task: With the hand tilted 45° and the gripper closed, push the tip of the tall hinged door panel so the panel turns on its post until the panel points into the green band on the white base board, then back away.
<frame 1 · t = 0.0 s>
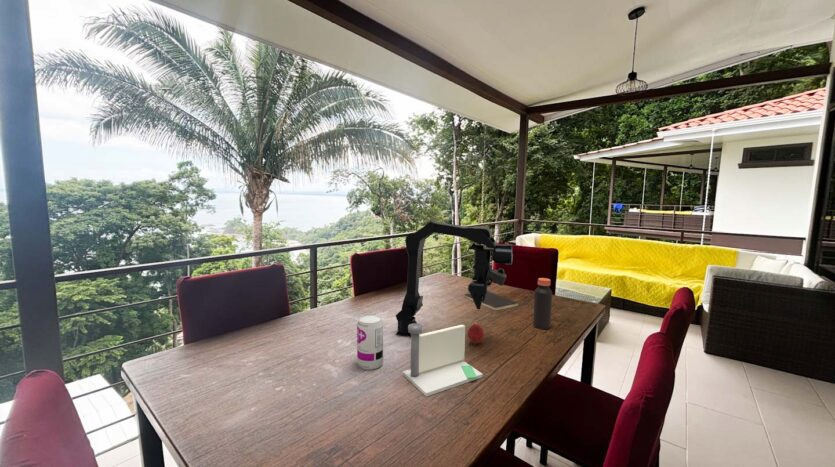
hand: (480, 305, 123), 15 cm above the table, tool pointing down, fingers open, 9 cm apart
hinged door panel: (437, 344, 104), point 9 cm above the table, hinge at 0.0°
bottle: (541, 326, 142), on the table
white base board: (414, 378, 101), on the table
hardcover book: (490, 302, 175), on the table
onion: (475, 344, 125), on the table
supplement can: (370, 364, 109), on the table
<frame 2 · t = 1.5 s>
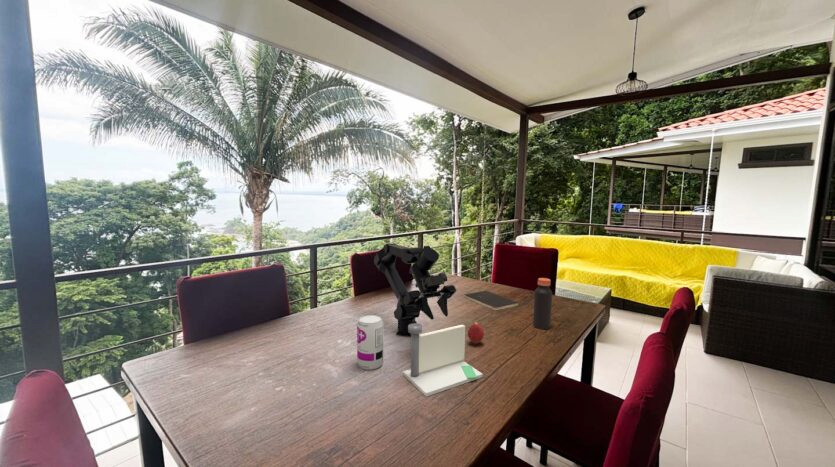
hand: (439, 317, 113), 14 cm above the table, tool tilted 45°, fingers open, 5 cm apart
nothing on the table moved.
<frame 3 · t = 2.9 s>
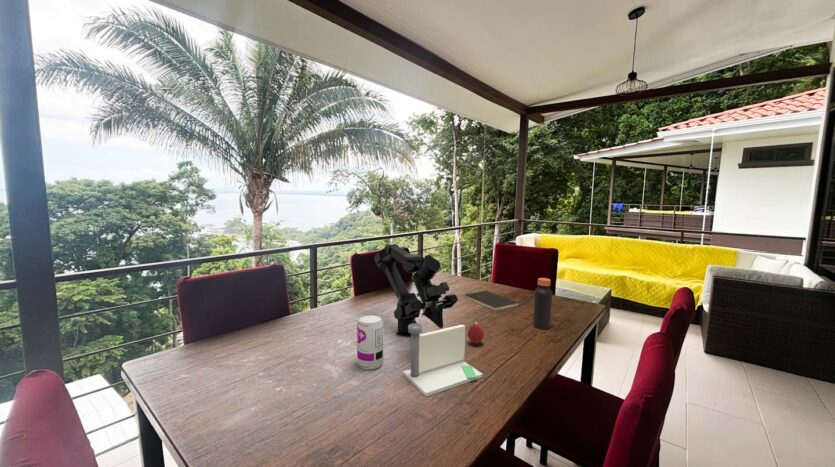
hand: (441, 327, 113), 11 cm above the table, tool tilted 45°, fingers closed
nothing on the table moved.
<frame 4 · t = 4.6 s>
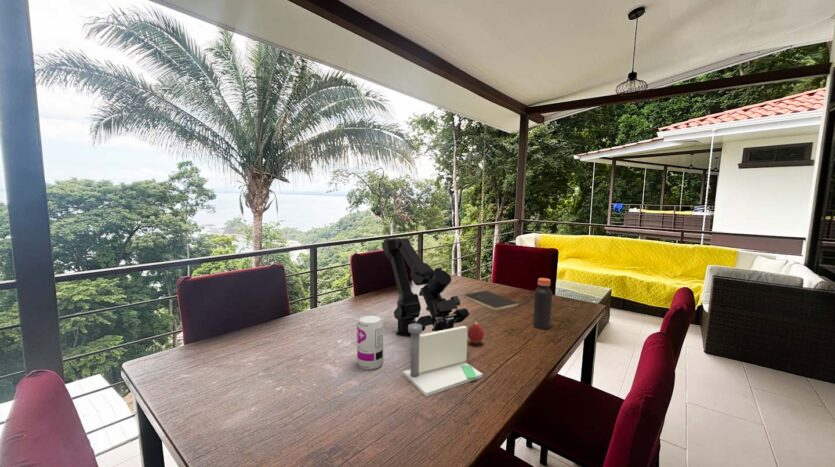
hand: (452, 344, 108), 7 cm above the table, tool tilted 45°, fingers closed, pressing on hinged door panel
hinged door panel: (438, 345, 104), point 9 cm above the table, hinge at 3.7°, touching gripper
everything else where it was.
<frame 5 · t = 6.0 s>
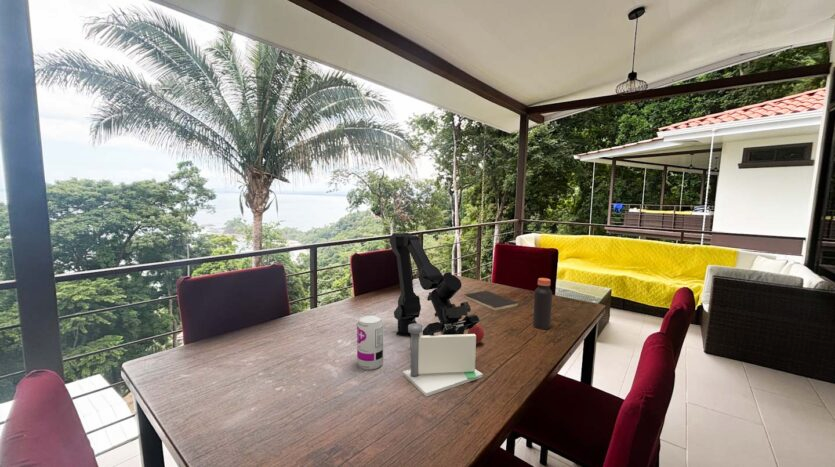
hand: (462, 352, 103), 7 cm above the table, tool tilted 45°, fingers closed
hinged door panel: (441, 349, 101), point 9 cm above the table, hinge at 25.0°, touching gripper
everything else where it was.
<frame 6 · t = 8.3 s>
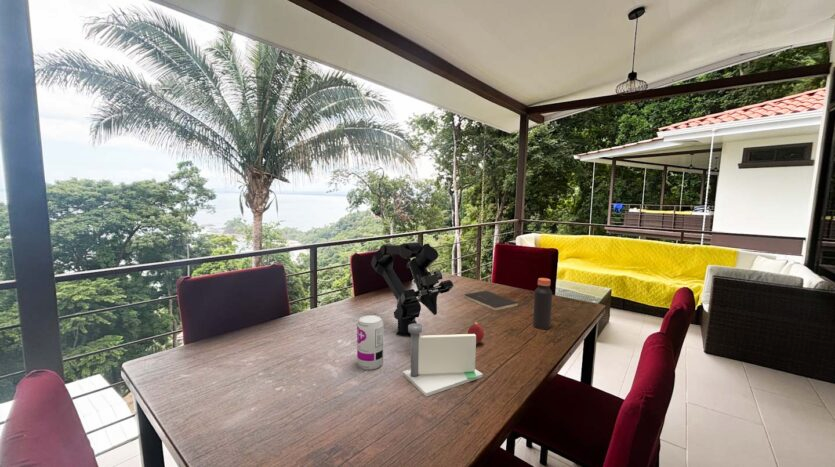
hand: (435, 314, 117), 13 cm above the table, tool tilted 40°, fingers closed
hinged door panel: (441, 349, 101), point 9 cm above the table, hinge at 25.0°
everything else where it was.
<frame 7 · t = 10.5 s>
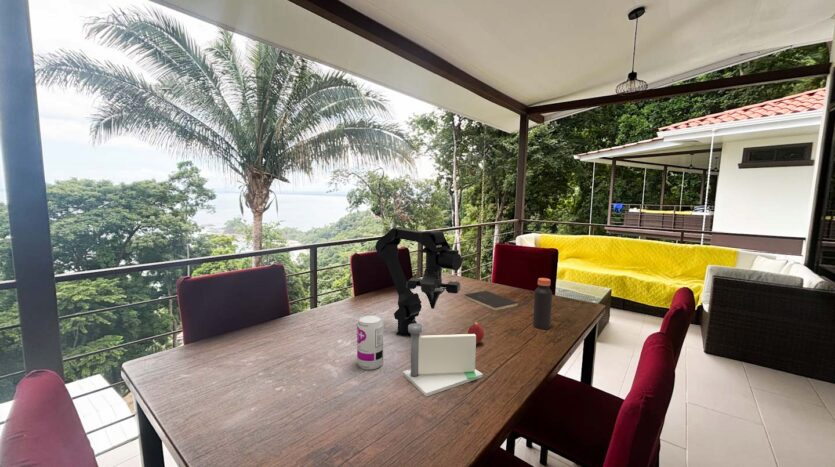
hand: (432, 308, 124), 13 cm above the table, tool pointing down, fingers closed
nothing on the table moved.
at the end: hinged door panel at +25° (first picture: +0°); supplement can moved 0.2 cm from its start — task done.
